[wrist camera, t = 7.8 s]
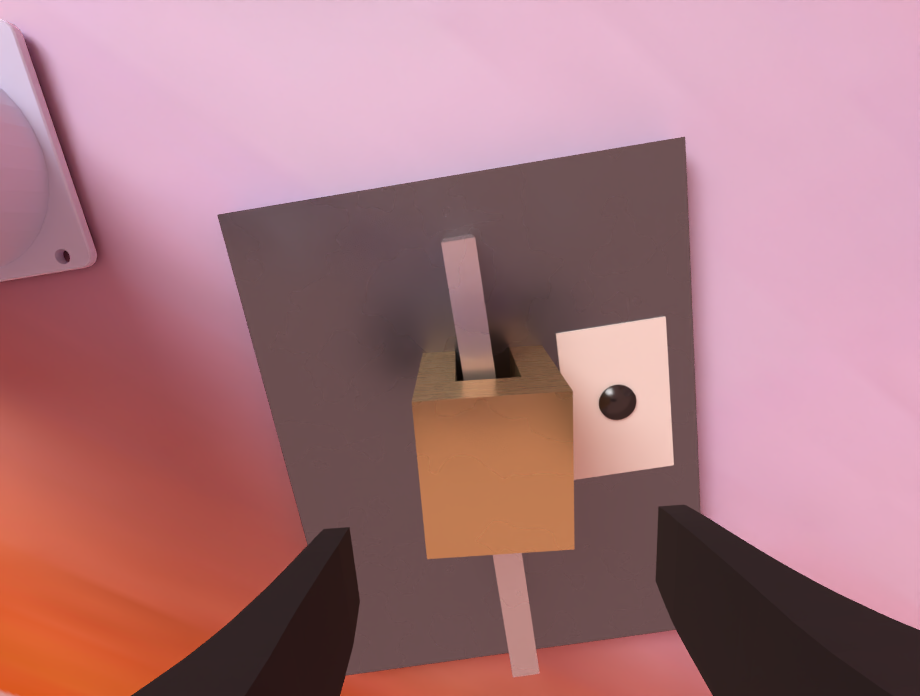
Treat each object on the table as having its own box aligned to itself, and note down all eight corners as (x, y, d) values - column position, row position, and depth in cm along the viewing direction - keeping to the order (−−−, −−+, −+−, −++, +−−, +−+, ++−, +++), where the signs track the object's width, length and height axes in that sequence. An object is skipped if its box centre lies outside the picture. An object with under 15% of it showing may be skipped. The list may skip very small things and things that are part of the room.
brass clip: (433, 475, 20) (427, 559, 15) (422, 353, 18) (411, 401, 14) (545, 467, 20) (574, 549, 15) (541, 345, 18) (572, 390, 14)
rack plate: (348, 656, 23) (326, 744, 19) (229, 215, 18) (169, 214, 14) (694, 608, 23) (743, 688, 19) (672, 141, 18) (733, 120, 14)
